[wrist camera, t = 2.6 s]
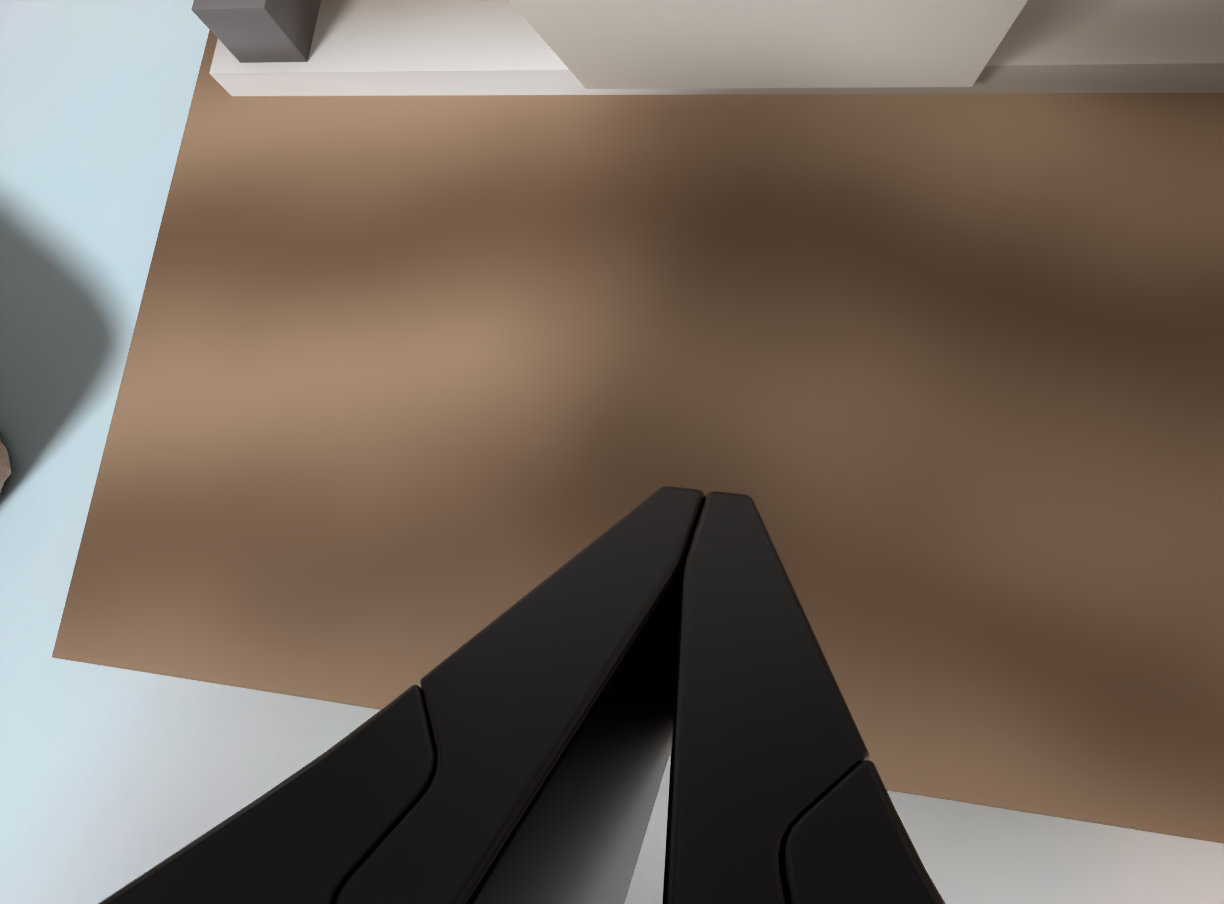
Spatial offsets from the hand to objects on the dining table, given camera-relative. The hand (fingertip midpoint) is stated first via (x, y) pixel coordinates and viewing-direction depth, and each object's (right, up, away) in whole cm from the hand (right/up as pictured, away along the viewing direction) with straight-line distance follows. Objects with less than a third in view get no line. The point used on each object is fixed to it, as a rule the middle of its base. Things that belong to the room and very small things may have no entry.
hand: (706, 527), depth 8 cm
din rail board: (+2, +4, +9) cm, 10 cm away
